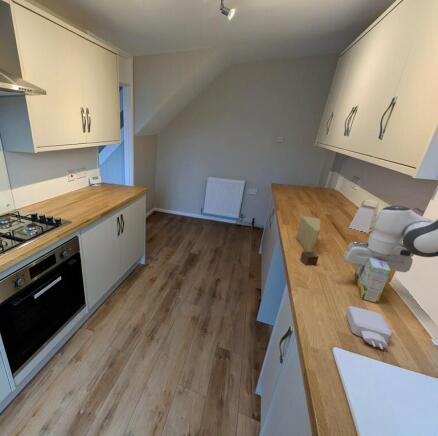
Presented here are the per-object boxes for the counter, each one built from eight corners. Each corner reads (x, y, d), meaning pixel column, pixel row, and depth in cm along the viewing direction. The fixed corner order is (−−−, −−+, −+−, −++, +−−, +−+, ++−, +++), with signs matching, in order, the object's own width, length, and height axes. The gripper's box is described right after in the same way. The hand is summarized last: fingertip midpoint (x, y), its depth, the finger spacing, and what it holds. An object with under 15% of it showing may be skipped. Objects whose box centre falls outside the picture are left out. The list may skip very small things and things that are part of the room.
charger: (355, 347, 72) (345, 315, 85) (396, 360, 68) (378, 325, 81) (360, 335, 71) (349, 305, 83) (402, 348, 67) (383, 314, 79)
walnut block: (309, 260, 121) (312, 251, 119) (316, 265, 116) (318, 256, 114) (299, 260, 121) (302, 251, 119) (305, 265, 116) (308, 256, 114)
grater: (354, 225, 167) (364, 198, 160) (373, 230, 159) (384, 201, 152) (348, 228, 162) (358, 200, 155) (367, 233, 154) (378, 204, 147)
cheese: (321, 257, 123) (329, 231, 118) (299, 253, 127) (306, 228, 122) (314, 241, 142) (321, 217, 137) (295, 237, 146) (301, 215, 141)
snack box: (352, 273, 110) (363, 244, 105) (368, 277, 107) (380, 248, 102) (359, 299, 93) (373, 266, 88) (378, 304, 91) (393, 270, 85)
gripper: (352, 244, 94) (342, 273, 99) (420, 254, 87) (405, 285, 92) (346, 238, 99) (336, 266, 104) (410, 246, 93) (396, 276, 97)
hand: (369, 275), depth 98 cm, fingers closed on snack box, 6 cm apart
